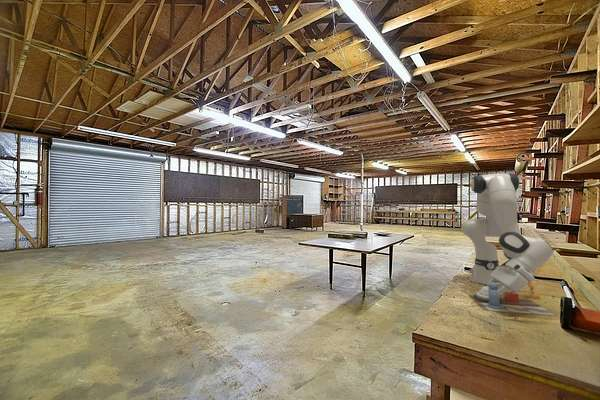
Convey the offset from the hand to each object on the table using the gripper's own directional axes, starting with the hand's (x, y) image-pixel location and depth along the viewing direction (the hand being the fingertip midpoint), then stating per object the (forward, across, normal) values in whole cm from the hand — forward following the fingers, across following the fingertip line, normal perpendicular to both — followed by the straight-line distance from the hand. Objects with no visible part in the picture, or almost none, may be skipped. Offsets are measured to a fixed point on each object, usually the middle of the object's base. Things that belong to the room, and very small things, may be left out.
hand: (492, 290), depth 120 cm
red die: (-3, -11, +14) cm, 18 cm away
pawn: (+5, 0, +6) cm, 8 cm away
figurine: (-10, -19, +23) cm, 32 cm away
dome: (+4, -11, +6) cm, 13 cm away
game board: (+1, -6, +12) cm, 13 cm away
